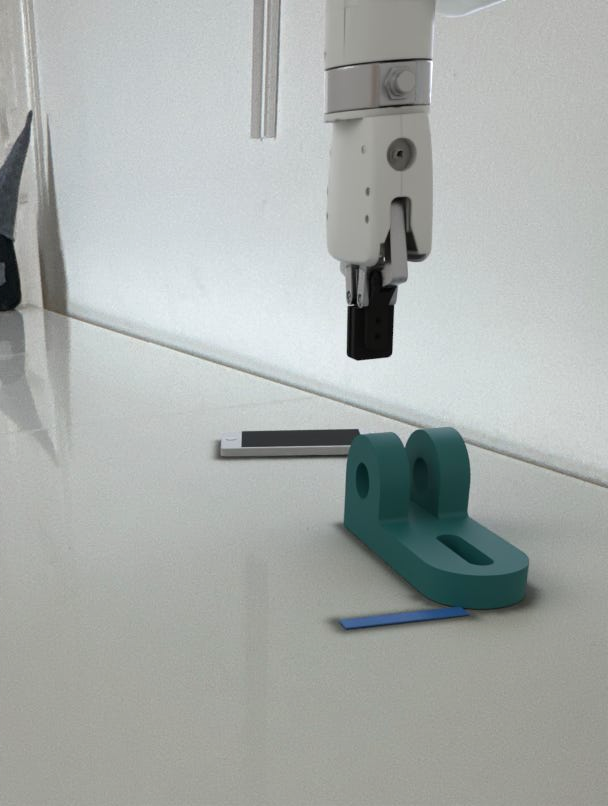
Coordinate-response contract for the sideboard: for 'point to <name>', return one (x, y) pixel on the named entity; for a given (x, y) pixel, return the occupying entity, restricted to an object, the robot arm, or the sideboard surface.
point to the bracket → (429, 519)
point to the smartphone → (289, 442)
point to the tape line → (403, 617)
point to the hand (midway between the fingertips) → (369, 356)
